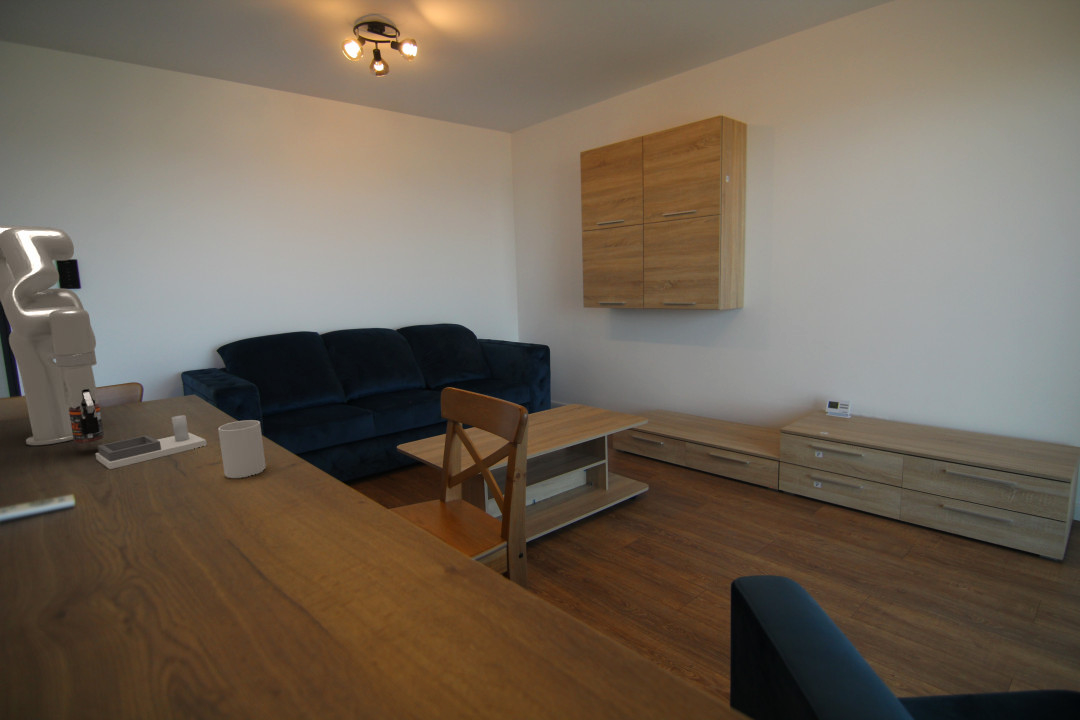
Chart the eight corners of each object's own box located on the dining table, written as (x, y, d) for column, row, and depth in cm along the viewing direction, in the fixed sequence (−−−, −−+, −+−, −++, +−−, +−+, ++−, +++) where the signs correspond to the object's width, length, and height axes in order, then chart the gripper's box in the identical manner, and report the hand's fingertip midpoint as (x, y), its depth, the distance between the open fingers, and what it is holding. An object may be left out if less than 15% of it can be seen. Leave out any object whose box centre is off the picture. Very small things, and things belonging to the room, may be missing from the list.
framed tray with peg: (96, 459, 132) (91, 429, 130) (189, 437, 147) (185, 410, 145) (109, 469, 124) (104, 437, 123) (206, 445, 139) (202, 417, 138)
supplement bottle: (67, 442, 136) (60, 398, 134) (93, 435, 141) (86, 392, 139) (85, 445, 134) (77, 400, 132) (110, 437, 140) (103, 394, 137)
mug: (271, 470, 119) (266, 423, 117) (232, 481, 113) (225, 432, 111) (250, 459, 127) (244, 415, 125) (212, 469, 121) (206, 423, 120)
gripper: (48, 358, 136) (60, 427, 140) (64, 366, 126) (76, 441, 129) (86, 353, 142) (97, 420, 145) (104, 362, 131) (115, 434, 135)
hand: (87, 430), depth 137 cm, fingers closed on supplement bottle, 5 cm apart
